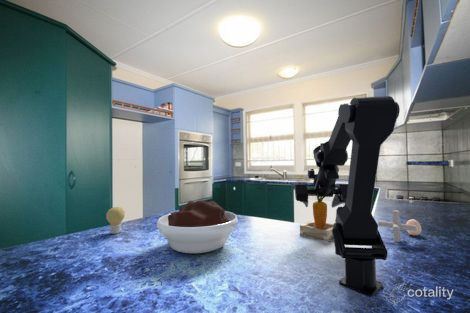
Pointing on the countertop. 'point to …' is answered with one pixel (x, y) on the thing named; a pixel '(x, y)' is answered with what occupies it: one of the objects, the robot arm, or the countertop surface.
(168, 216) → the bowl of chocolate chunks
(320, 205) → the carrot
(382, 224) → the pipe connector
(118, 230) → the light bulb
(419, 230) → the egg
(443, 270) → the countertop surface
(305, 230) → the socket block
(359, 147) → the robot arm
